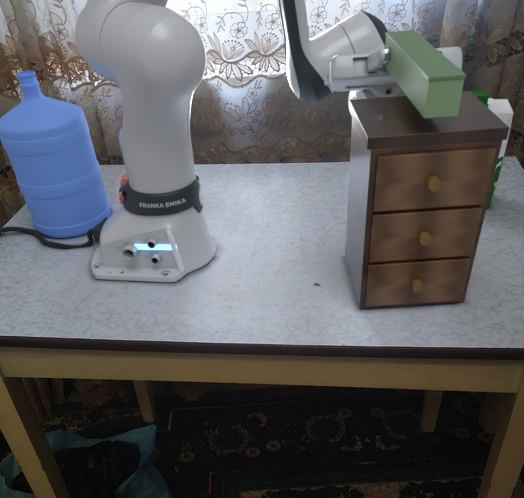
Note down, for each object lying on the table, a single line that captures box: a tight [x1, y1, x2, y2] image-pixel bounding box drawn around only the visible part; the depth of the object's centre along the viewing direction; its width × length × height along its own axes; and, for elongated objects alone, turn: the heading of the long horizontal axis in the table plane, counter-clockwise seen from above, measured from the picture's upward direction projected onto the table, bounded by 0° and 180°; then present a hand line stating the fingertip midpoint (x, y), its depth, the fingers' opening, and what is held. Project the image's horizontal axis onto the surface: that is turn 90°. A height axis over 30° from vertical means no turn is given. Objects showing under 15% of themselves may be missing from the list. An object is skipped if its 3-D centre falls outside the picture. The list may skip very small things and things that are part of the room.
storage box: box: [384, 29, 467, 118], centre depth 69 cm, size 4×24×4 cm, turn 1°
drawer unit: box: [345, 90, 509, 310], centre depth 77 cm, size 17×17×26 cm
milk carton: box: [468, 89, 514, 210], centre depth 98 cm, size 9×9×20 cm
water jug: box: [0, 69, 112, 239], centre depth 99 cm, size 16×16×28 cm
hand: (405, 51), depth 75 cm, fingers closed on storage box, 4 cm apart
